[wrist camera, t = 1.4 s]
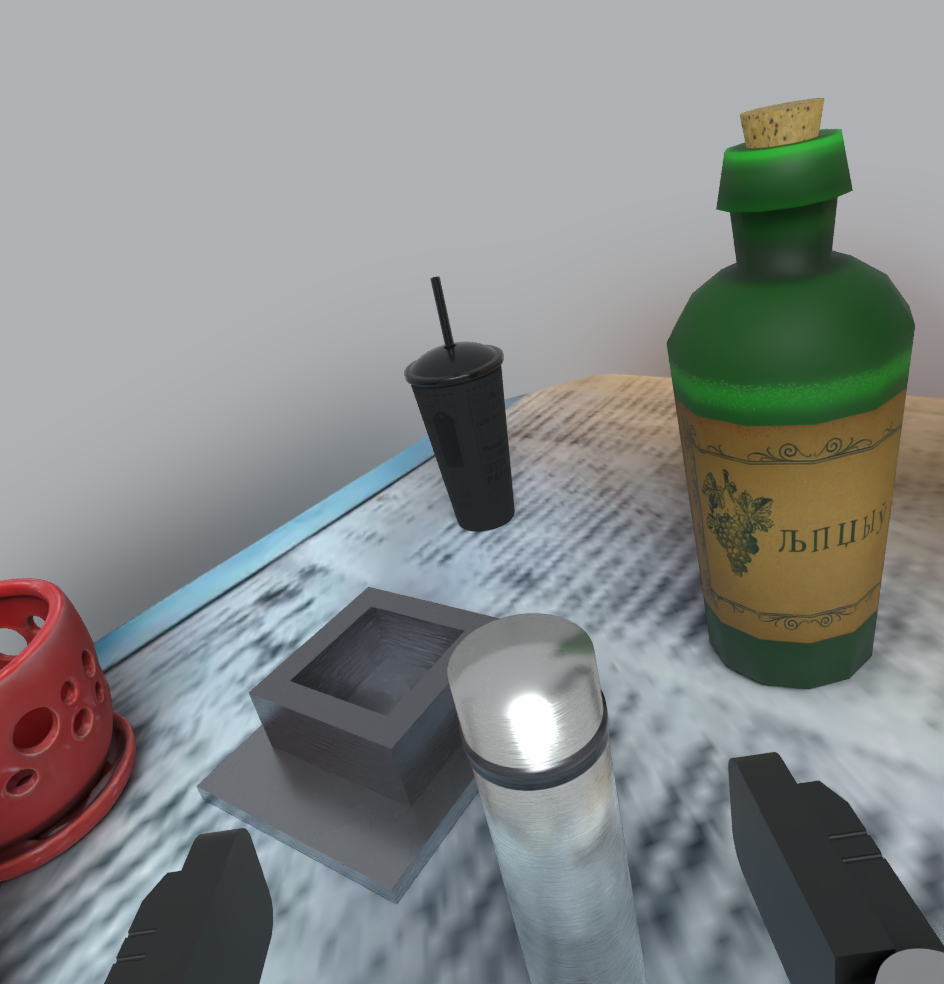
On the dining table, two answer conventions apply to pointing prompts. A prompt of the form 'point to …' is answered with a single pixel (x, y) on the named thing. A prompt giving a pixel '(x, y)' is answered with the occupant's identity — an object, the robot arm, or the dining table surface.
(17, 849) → the plant pot
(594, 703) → the steel tube
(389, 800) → the collar
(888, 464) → the bottle
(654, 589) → the dining table surface
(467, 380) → the drinking cup
